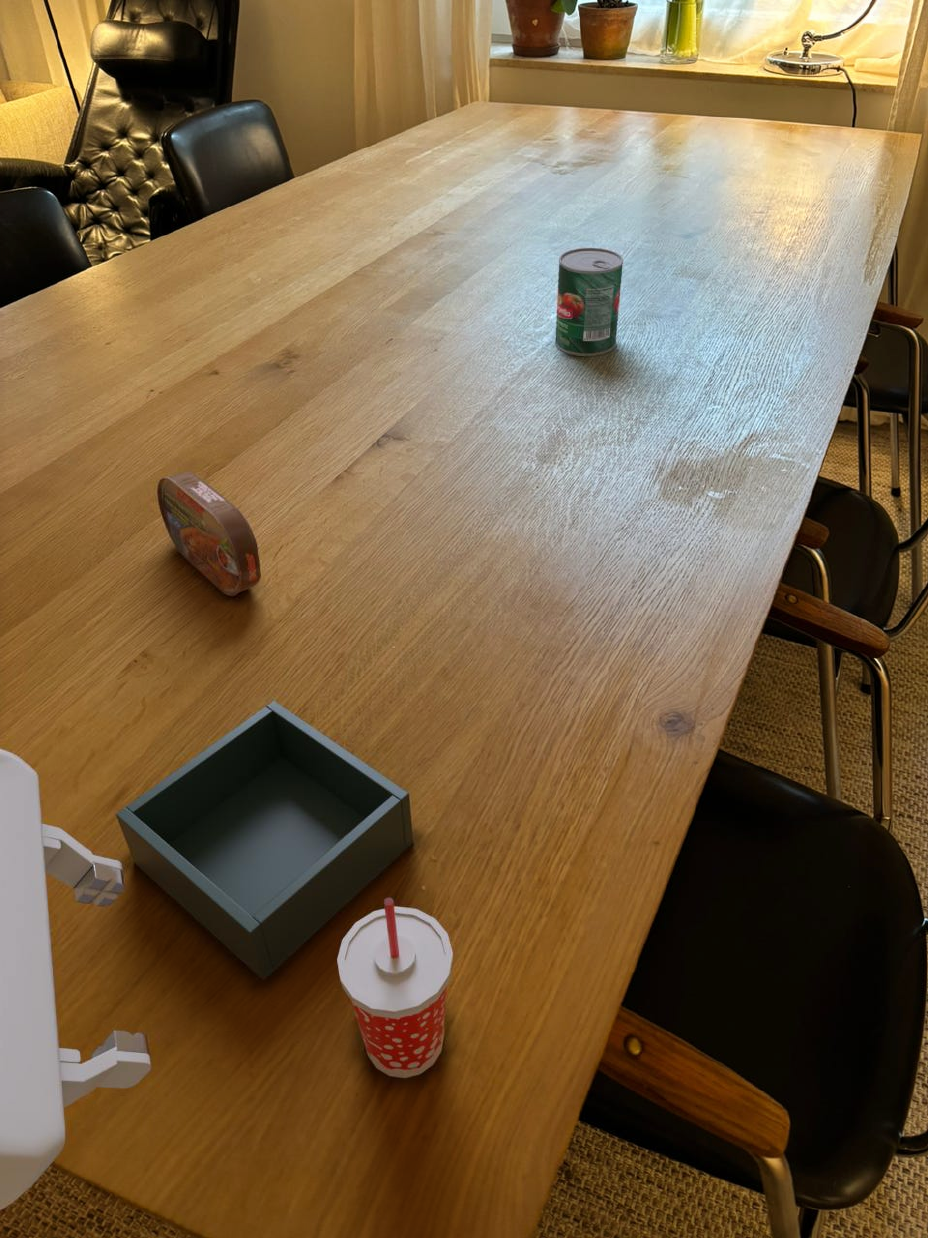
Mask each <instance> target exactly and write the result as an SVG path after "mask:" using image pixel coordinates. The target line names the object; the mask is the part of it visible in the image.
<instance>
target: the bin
mask: <svg viewBox="0 0 928 1238" xmlns="http://www.w3.org/2000/svg"><path fill="white" fill-rule="evenodd" d="M410 802H411V801H410V793H409V792H407V791H406V790H405V789H403V788H402V787H401V786H399V785H397V784H396V783H395V782H393V781H392V780H390V779H389V778H387V777H386V776H384V775H383V774H382V773H380V772H379V771H377V770H375V769H374V768H373V767H371V766H370V765H369V764H367V763H365V762H364V761H362V760H361V759H360V758H359V757H357V756H355V755H354V754H353V753H351V752H349V750H347V749H345V748H344V747H342V746H340V744H338V743H337V742H335V741H333V740H332V739H330V738H329V737H328V736H326V735H325V734H323V733H322V732H320V731H319V730H317V729H316V728H315V727H313V726H312V725H310V724H309V723H307V722H306V721H304V720H303V719H301V718H300V717H299V716H297V715H296V714H295V713H293V712H291V711H290V710H288V709H287V708H286V707H284V706H282V705H281V704H279V702H277V701H275V700H272V701H271V702H270V703H268V704H267V705H265V706H263V707H262V708H261V709H260V710H258V711H257V712H256V713H254V714H252V715H251V716H250V717H248V718H247V719H246V720H244V721H243V722H241V723H240V724H238V725H237V726H236V727H234V728H233V729H232V730H230V731H228V733H226V734H225V735H224V736H222V737H220V738H219V739H218V740H216V741H215V742H214V743H212V744H211V745H210V746H208V747H206V748H205V749H204V750H202V751H201V752H199V753H198V754H197V755H195V756H194V757H193V758H191V759H190V760H188V761H187V762H186V763H184V764H183V765H181V766H180V767H179V768H177V769H176V770H174V771H173V772H172V773H170V774H169V775H168V776H166V777H165V778H163V779H162V780H160V781H159V782H158V783H157V784H155V785H154V786H153V787H151V788H149V789H148V790H147V791H146V792H143V794H141V795H140V796H139V797H137V798H136V799H134V800H133V801H132V802H130V803H129V804H126V806H124V807H123V808H122V809H120V810H119V811H118V812H116V813H115V816H116V819H117V822H118V825H119V827H120V830H121V832H122V835H123V837H124V841H125V842H126V845H127V847H128V850H129V852H130V855H131V857H132V860H133V863H134V864H135V865H136V866H137V867H138V868H139V869H140V870H142V872H143V873H145V874H146V875H147V876H148V877H149V878H150V879H151V880H152V881H153V882H155V883H156V885H158V886H159V887H160V888H161V889H162V890H163V891H165V892H166V893H167V894H168V895H169V897H171V898H172V899H173V900H174V901H176V903H178V904H179V905H180V906H181V907H182V908H183V909H184V910H185V911H186V912H188V913H189V914H190V915H191V916H192V917H193V918H194V919H195V920H196V921H197V922H198V923H200V925H202V926H203V927H204V928H205V929H206V930H207V931H208V932H209V933H211V934H212V935H213V936H214V937H215V938H216V939H217V940H218V941H219V942H220V943H222V944H223V946H225V947H226V948H227V949H228V950H229V951H230V952H231V953H232V954H233V955H235V956H236V957H237V959H239V960H240V961H241V962H242V963H244V964H245V965H246V966H247V967H248V968H249V969H250V970H251V971H252V972H254V974H256V975H257V976H258V977H259V978H260V979H261V980H262V981H265V980H267V979H268V977H270V976H271V975H272V974H273V973H274V972H275V971H276V970H277V969H279V967H281V965H283V964H284V963H285V962H286V961H287V960H288V959H289V958H290V957H291V956H292V955H293V954H294V953H296V952H297V951H298V950H299V949H300V948H301V947H302V946H303V945H304V944H305V943H307V941H309V940H310V938H312V937H313V936H314V935H315V934H316V933H317V932H318V931H320V930H321V928H323V927H324V926H325V925H326V924H327V923H328V922H329V921H331V920H332V918H333V917H335V915H337V914H338V913H339V912H340V911H341V910H342V909H343V908H345V906H347V905H348V903H350V902H351V901H352V900H353V899H354V898H355V897H356V896H358V894H360V893H361V892H362V891H363V890H364V889H365V888H366V887H367V886H368V885H369V884H370V883H371V882H373V880H375V879H376V878H377V877H378V876H379V875H380V874H381V873H382V872H384V870H385V869H387V868H388V867H390V865H391V864H392V863H393V862H394V861H395V860H396V859H398V857H400V856H401V855H402V854H403V853H404V852H405V851H406V850H407V849H408V848H409V847H411V846H412V845H413V844H414V835H413V824H412V813H411V803H410Z"/></svg>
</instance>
